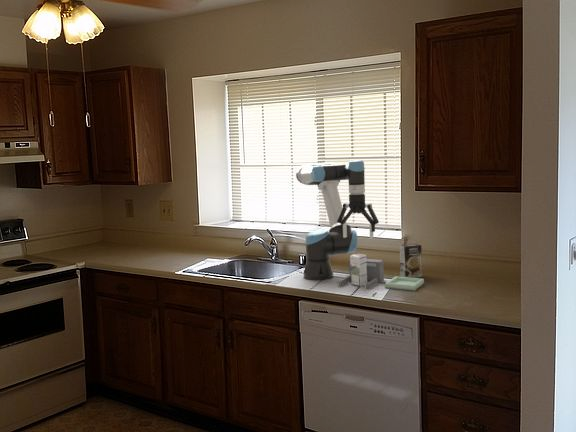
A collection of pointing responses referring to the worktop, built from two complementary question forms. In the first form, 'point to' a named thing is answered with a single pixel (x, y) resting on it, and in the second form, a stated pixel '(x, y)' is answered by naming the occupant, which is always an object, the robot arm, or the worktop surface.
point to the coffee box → (410, 260)
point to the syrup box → (358, 269)
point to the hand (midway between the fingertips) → (358, 238)
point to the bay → (369, 273)
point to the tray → (404, 283)
